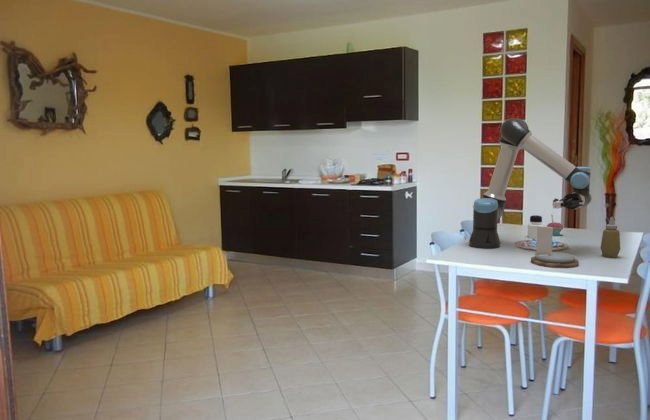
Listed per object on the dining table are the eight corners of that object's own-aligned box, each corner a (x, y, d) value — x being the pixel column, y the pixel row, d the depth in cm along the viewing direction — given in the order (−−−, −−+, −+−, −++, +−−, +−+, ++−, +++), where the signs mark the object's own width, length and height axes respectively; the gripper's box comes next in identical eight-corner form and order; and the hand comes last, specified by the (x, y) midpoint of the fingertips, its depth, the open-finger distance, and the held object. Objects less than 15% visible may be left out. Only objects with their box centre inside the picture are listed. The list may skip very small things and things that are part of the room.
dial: (528, 259, 238) (529, 228, 237) (542, 253, 250) (544, 224, 249) (567, 264, 228) (568, 232, 226) (580, 258, 240) (581, 227, 238)
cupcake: (547, 235, 307) (548, 214, 306) (545, 233, 315) (546, 212, 314) (564, 236, 305) (565, 214, 304) (561, 233, 313) (562, 212, 312)
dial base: (523, 263, 238) (523, 259, 238) (540, 256, 252) (540, 252, 252) (569, 270, 226) (569, 265, 226) (584, 262, 240) (585, 258, 240)
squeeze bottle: (597, 256, 252) (599, 217, 250) (603, 253, 258) (605, 215, 255) (616, 259, 246) (618, 218, 244) (622, 256, 252) (624, 217, 250)
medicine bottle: (543, 238, 298) (544, 216, 297) (529, 238, 300) (530, 216, 298) (541, 236, 305) (541, 214, 304) (527, 236, 307) (528, 214, 305)
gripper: (588, 209, 258) (571, 215, 241) (558, 207, 267) (539, 212, 250) (589, 193, 257) (572, 197, 240) (559, 192, 266) (540, 195, 249)
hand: (555, 205), depth 245 cm, fingers closed
